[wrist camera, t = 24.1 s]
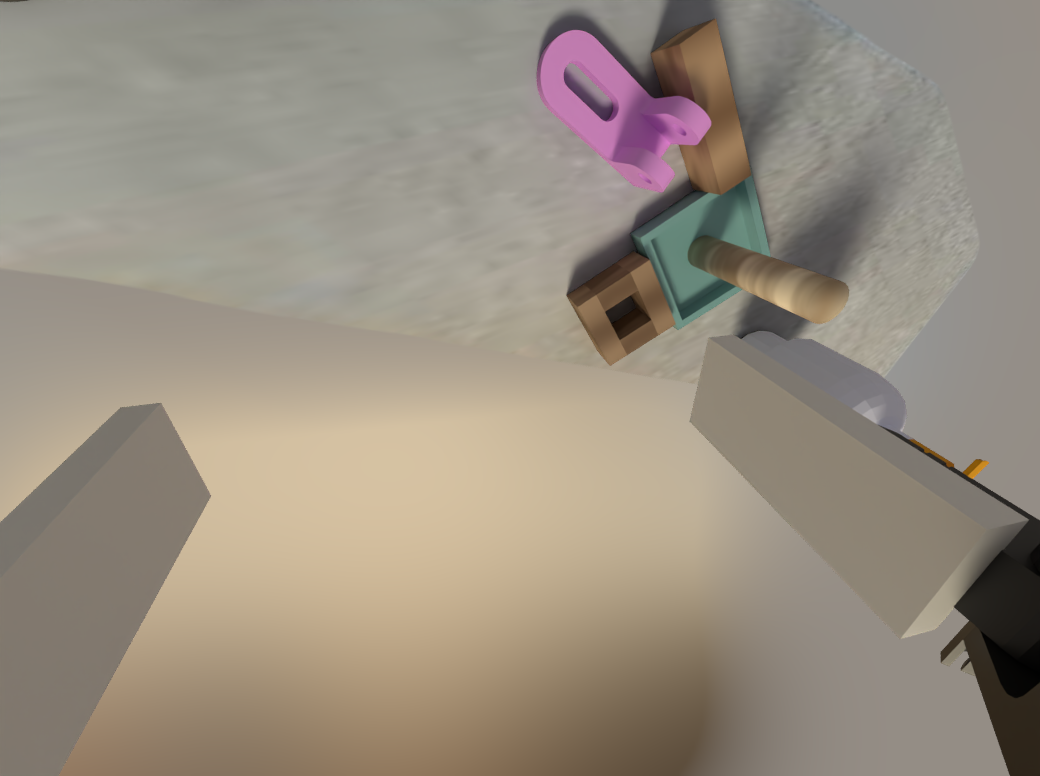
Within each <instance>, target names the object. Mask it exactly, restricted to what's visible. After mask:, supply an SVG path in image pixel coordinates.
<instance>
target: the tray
mask: <svg viewBox="0 0 1040 776" xmlns="http://www.w3.org/2000/svg"><path fill="white" fill-rule="evenodd" d="M749 166H750V165H749ZM750 170H751V168H750ZM751 174H752V172H751ZM630 234H631V236H632V239H633V241H634V243H635V246H636V248H637V250H638V253H639V254H640V255H641V256H643V257H645V258H647V259H649V260H650V262H651V264H652V267H653V269H654V272H655V274H656V277H657V279H658V281H659V284H660V286H661V289H662V291H663V294H664V296H665V299H666V301H667V303H668V306H669V308H670V311H671V313H672V316H673V318H674V321H675V323H676V324H675V325H674V326H673V327H675V328H676V329H677V330H679V329H681V328H682V327H684V326H685V325H687V324H689V323H690V322H692V321H693V320H695V319H696V318H698V317H700V316H701V315H703V314H704V313H706V312H708V311H709V310H711V309H712V308H714V307H715V306H717V305H719V304H720V303H722V302H723V301H725V300H727V299H728V298H730V297H731V296H733V295H734V294H736V293H738V292H739V291H741V290H742V289H741V288H739V287H737V286H735V285H733V284H730V283H728V282H726V281H724V280H722V279H720V278H718V277H716V276H713V275H711V274H709V273H707V272H705V271H703V270H701V269H699V268H696V267H694V266H692V265H691V264H690V263H689V261H688V257H687V255H688V250H689V247H690V245H691V244H692V242H693V241H694V240H695V239H697V238H698V237H700V236H704V235H708V236H711V237H714V238H717V239H720V240H723V241H726V242H728V243H731V244H734V245H737V246H740V247H743V248H746V249H749V250H752V251H754V252H757V253H760V254H763V255H766V256H769V257H771V255H770V251H769V247H768V242H767V238H766V233H765V229H764V225H763V220H762V216H761V211H760V207H759V203H758V198H757V194H756V189H755V185H754V181H753V176H752V175H751V176H749V177H748V178H746V179H745V180H743V181H742V182H740V183H739V184H737V185H736V186H734V187H733V188H731V189H730V190H728V191H727V192H725V193H724V194H722V195H718V194H713V193H708V192H703V191H698V190H695V191H693V192H692V193H690V194H689V195H687V196H686V197H684V198H683V199H681V200H680V201H678V202H677V203H675V204H674V205H672V206H671V207H669V208H668V209H666V210H665V211H663V212H662V213H660V214H659V215H657V216H656V217H654V218H653V219H651V220H650V221H648V222H647V223H645V224H644V225H642V226H641V227H639V228H638V229H636V230H635V231H633V232H632V233H630Z"/></svg>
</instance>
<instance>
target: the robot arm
mask: <svg viewBox="0 0 1040 776" xmlns="http://www.w3.org/2000/svg"><path fill="white" fill-rule="evenodd" d="M0 1H3V2H18V1H27V0H0ZM690 422H691V423H692V424H693V425H694V426H695V427H696V428H697V429H698V430H699V432H700V433H701V434H702V435H703V436H704V437H705V438H706V439H707V440H708V441H709V442H710V443H711V444H712V445H713V446H714V447H715V448H716V449H717V450H718V451H719V452H720V453H721V454H722V455H723V456H724V457H725V458H726V460H728V461H729V462H730V464H731V465H732V466H733V467H734V468H735V469H736V470H737V471H738V472H739V473H740V474H741V475H742V476H743V477H744V478H745V479H746V480H747V481H748V482H749V483H750V484H751V485H752V486H753V487H754V488H755V490H756V491H757V492H758V493H759V494H760V495H761V496H762V497H763V498H764V499H765V500H766V501H767V502H768V503H769V504H770V505H771V506H772V507H773V508H774V509H775V510H776V511H777V512H778V513H779V514H780V515H781V516H782V517H783V519H784V520H785V521H786V522H787V523H788V524H789V525H790V526H791V527H792V528H793V529H794V530H795V531H796V532H797V533H798V534H799V535H800V536H801V537H802V538H803V539H804V540H805V541H806V542H807V543H808V544H809V545H810V546H811V548H813V550H815V552H816V553H817V554H818V555H819V556H820V557H821V558H822V559H823V560H824V561H825V562H826V563H827V564H828V565H829V566H830V567H831V568H832V569H833V570H834V571H835V572H836V573H837V574H838V575H839V576H840V577H841V578H842V579H843V581H845V583H846V584H847V585H848V586H849V587H850V588H851V589H852V590H853V591H854V592H855V593H856V594H857V595H858V596H859V597H860V598H861V599H862V600H863V601H864V602H865V603H866V604H867V605H868V607H869V608H870V609H871V610H872V611H873V612H874V613H875V614H876V615H877V616H878V617H879V618H880V619H881V620H882V621H883V622H884V623H885V624H886V625H887V626H888V627H889V628H890V629H891V630H892V631H893V632H894V633H895V634H896V636H897V637H898V638H899V639H903V638H906V637H910V636H913V635H916V634H920V633H924V632H928V631H931V630H934V629H936V628H937V627H938V626H939V625H940V624H941V623H942V621H943V620H944V619H945V618H946V617H947V616H948V614H949V613H950V612H951V611H952V609H954V608H956V609H957V610H958V611H959V612H960V613H961V614H963V615H964V616H965V617H966V618H967V619H968V620H969V622H968V623H967V624H966V625H965V626H964V627H963V628H962V629H961V630H960V632H959V633H958V634H957V635H956V636H955V637H954V638H953V639H952V640H951V641H950V642H949V644H948V645H947V646H946V647H945V648H944V649H943V650H942V651H941V663H942V664H944V665H947V666H950V665H951V664H952V663H953V662H954V661H955V659H957V657H958V656H959V655H960V654H961V653H962V652H963V651H967V652H968V655H969V658H968V659H967V660H966V661H965V662H964V664H963V665H962V667H961V671H963V672H965V673H968V674H971V675H973V676H976V678H977V681H978V684H979V687H980V690H981V693H982V696H983V699H984V702H985V705H986V708H987V710H988V713H989V716H990V719H991V722H992V725H993V728H994V731H995V734H996V736H997V739H998V742H999V745H1000V748H1001V751H1002V754H1003V757H1004V760H1005V763H1006V766H1007V768H1008V771H1009V774H1010V776H1040V520H1038V519H1036V518H1035V517H1033V516H1032V515H1030V514H1028V513H1027V512H1025V511H1023V510H1022V509H1020V508H1018V507H1017V506H1015V505H1014V504H1012V503H1011V502H1009V501H1007V500H1006V499H1004V498H1002V497H1001V496H999V495H998V494H996V493H994V492H993V491H991V490H989V489H988V488H986V487H985V486H983V485H981V484H980V483H978V482H976V481H975V480H973V479H972V478H970V477H968V476H967V475H965V474H964V473H962V472H960V471H959V470H957V469H955V468H954V467H948V466H947V465H946V462H944V461H943V460H941V459H939V458H938V457H936V456H934V455H933V454H931V453H925V452H924V449H923V448H921V447H920V446H918V445H917V444H915V443H913V442H912V441H910V440H908V439H907V438H905V437H904V436H902V435H900V434H899V433H897V432H894V431H892V430H889V429H887V428H885V427H882V426H880V425H877V424H876V423H874V422H872V421H871V420H869V419H868V418H866V417H864V416H863V415H861V414H860V413H858V412H856V411H855V410H853V409H852V408H850V407H848V406H847V405H845V404H844V403H842V402H840V401H839V400H837V399H836V398H834V397H832V396H831V395H829V394H828V393H826V392H824V391H823V390H821V389H820V388H818V387H816V386H815V385H813V384H812V383H810V382H808V381H807V380H805V379H804V378H802V377H801V376H799V375H797V374H796V373H794V372H793V371H791V370H789V369H788V368H786V367H785V366H783V365H781V364H780V363H778V362H777V361H775V360H773V359H772V358H770V357H769V356H767V355H765V354H764V353H762V352H761V351H759V350H757V349H756V348H754V347H753V346H751V345H749V344H748V343H746V342H745V341H743V340H741V339H740V338H738V337H737V336H735V335H728V336H719V337H711V338H708V343H707V347H706V352H705V356H704V360H703V365H702V369H701V373H700V378H699V382H698V387H697V391H696V396H695V400H694V404H693V409H692V413H691V418H690ZM210 497H211V495H210V493H209V491H208V489H207V487H206V485H205V483H204V482H203V480H202V478H201V476H200V474H199V472H198V470H197V469H196V467H195V465H194V463H193V461H192V459H191V458H190V456H189V454H188V452H187V450H186V448H185V446H184V444H183V443H182V441H181V439H180V437H179V435H178V433H177V431H176V430H175V428H174V426H173V424H172V422H171V420H170V419H169V417H168V415H167V413H166V411H165V409H164V407H163V406H162V404H161V403H156V404H147V405H139V406H131V407H122V408H120V409H119V410H118V411H117V412H116V413H115V414H113V415H112V416H111V417H110V418H109V419H108V420H107V421H106V422H105V423H104V424H103V425H102V426H101V427H100V428H99V429H98V430H97V431H96V432H95V433H94V434H92V436H90V437H89V438H88V439H87V440H86V441H85V442H84V443H83V444H82V445H81V446H80V447H79V448H78V449H77V450H76V451H75V452H74V453H73V454H72V455H71V456H70V457H68V459H67V460H65V461H64V462H63V463H62V464H61V465H60V466H59V467H58V468H57V469H56V470H55V471H54V472H53V473H52V474H51V475H50V476H48V477H47V478H46V480H44V481H43V482H42V483H41V484H40V485H39V486H38V487H37V488H36V489H35V490H34V491H33V492H32V493H31V494H30V495H29V496H28V497H26V498H25V499H24V500H23V501H22V502H21V503H20V504H19V505H18V506H17V507H16V508H15V509H14V510H13V511H12V512H11V513H10V514H9V515H8V516H7V517H6V518H4V519H3V521H1V522H0V776H58V775H59V774H60V772H61V770H62V768H63V766H64V764H65V763H66V761H67V759H68V757H69V755H70V753H71V751H72V750H73V748H74V746H75V744H76V742H77V740H78V739H79V737H80V735H81V733H82V731H83V730H84V728H85V726H86V724H87V722H88V720H89V719H90V716H91V715H92V713H93V711H94V709H95V708H96V706H97V704H98V702H99V700H100V698H101V697H102V694H103V693H104V691H105V689H106V687H107V686H108V684H109V682H110V680H111V678H112V677H113V675H114V673H115V671H116V669H117V667H118V665H119V664H120V662H121V660H122V658H123V656H124V654H125V653H126V651H127V649H128V647H129V645H130V644H131V641H132V640H133V638H134V636H135V634H136V632H137V631H138V629H139V627H140V625H141V623H142V622H143V620H144V618H145V616H146V614H147V612H148V610H149V609H150V607H151V605H152V603H153V601H154V600H155V598H156V596H157V594H158V592H159V590H160V588H161V587H162V585H163V583H164V581H165V579H166V578H167V576H168V574H169V572H170V570H171V568H172V567H173V565H174V563H175V561H176V559H177V557H178V556H179V554H180V552H181V550H182V548H183V546H184V545H185V542H186V541H187V539H188V537H189V535H190V534H191V532H192V530H193V528H194V526H195V524H196V523H197V521H198V519H199V517H200V515H201V513H202V512H203V510H204V508H205V506H206V504H207V502H208V501H209V499H210Z"/></svg>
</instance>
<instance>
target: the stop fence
mask: <svg viewBox="0 0 1040 776" xmlns="http://www.w3.org/2000/svg"><path fill="white" fill-rule="evenodd" d="M651 57H652V60H653V63H654V66H655V69H656V73H657V76H658V79H659V82H660V85H661V89H662V92H663V95H664V97H672V96H682V97H685V98H687V99H689V100H691V101H693V102H694V103H696V104H697V105H698V106H700V107H701V108H702V109H703V110H704V111H705V112H706V114H707V115H708V116H709V118H710V120H711V127H710V128H709V130H708V131H707V132H706V134H705V135H704V136H703V138H702V139H701V141H700V142H699V143H698V144H697V145H680V144H679V146H680V150H681V153H682V156H683V159H684V162H685V166H686V169H687V172H688V175H689V178H690V182H691V185H692V188H693V189H694V190H698V191H703V192H708V193H713V194H718V195H722V194H724V193H725V192H727V191H728V190H730V189H731V188H733V187H734V186H736V185H737V184H739V183H740V182H742V181H743V180H745V179H746V178H748V177H749V176H751V175H752V174H751V170H750V166H749V161H748V157H747V152H746V148H745V144H744V139H743V135H742V130H741V126H740V122H739V117H738V113H737V109H736V104H735V100H734V95H733V91H732V87H731V82H730V78H729V73H728V69H727V65H726V60H725V56H724V52H723V47H722V43H721V38H720V34H719V30H718V25H717V21H716V19H713V20H710V21H707V22H705V23H702V24H699V25H697V26H694V27H691V28H689V29H686V30H683V31H682V32H680V33H679V34H677V35H676V36H675V37H673V38H672V39H670V40H669V41H668V42H666V43H665V44H663V45H662V46H661V47H659V48H658V49H656V50H655V51H654V52H652V53H651Z"/></svg>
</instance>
